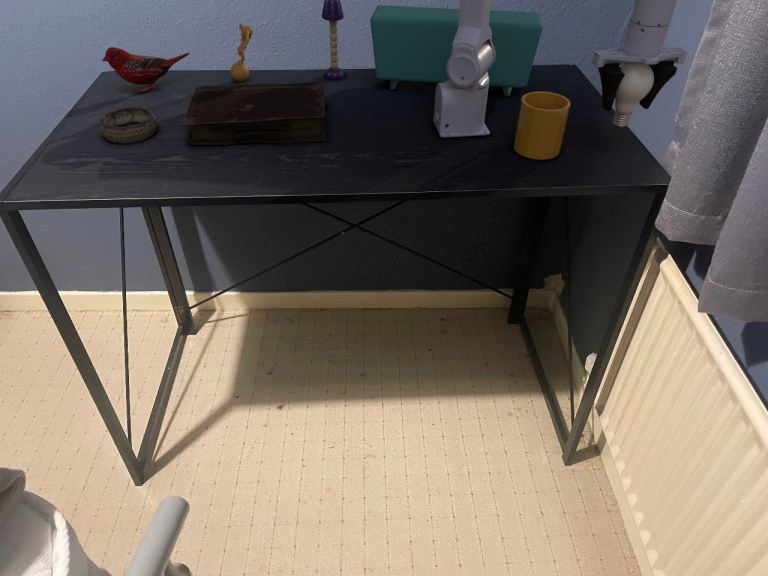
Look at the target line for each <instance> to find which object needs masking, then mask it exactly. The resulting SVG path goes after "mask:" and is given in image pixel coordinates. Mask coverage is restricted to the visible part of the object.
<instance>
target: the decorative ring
mask: <svg viewBox="0 0 768 576" xmlns="http://www.w3.org/2000/svg"><path fill="white" fill-rule="evenodd" d="M158 125H159V124H158V119H157V116H156V115H155V114H154V113H153V112H152V111H150V109H146V108H143V107H135V106H134V107H133V106H132V107H123V108H117V109H115V110H113V111H110V112H108V113H106V114H105V115H103V116H102V118H101V119H100V122H99V127H100V128H99V129H100V130H99V131H100V133H101V135H102V136H103V137H104V138H105V139H106V140H107V141H109V142H111V143H114V144H124V145H125V144H134V143H139V142H142V141H145V140H147V139H149V138H151V137H153V136H154V135H155V134H156V132H157V131H158V127H159V126H158Z"/></svg>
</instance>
